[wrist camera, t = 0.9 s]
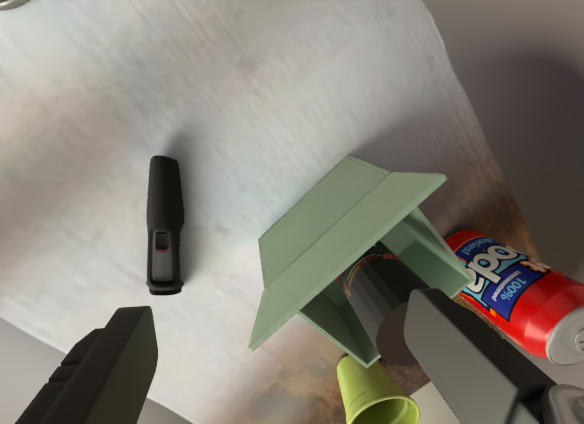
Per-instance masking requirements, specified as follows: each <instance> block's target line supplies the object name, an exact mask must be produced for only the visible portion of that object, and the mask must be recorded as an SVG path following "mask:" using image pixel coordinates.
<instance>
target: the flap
mask: <svg viewBox="0 0 584 424" xmlns="http://www.w3.org/2000/svg"><path fill="white" fill-rule="evenodd" d="M446 180H447V177H446V176H445V175H444V174H443V173H409V172H392V173H391V174H390V175H389V176H388V177H387V178H386V179H385V180H383V181H382V182H381V183H380V184H379V185H378V186H377V187H376V188H375V189H374V190H373V191H371V192H370V193H369V194H368V195H367V196H366V197H365V198H364V199H363V200H362V201H361V202H359V203H358V204H357V205H356V206H355V207H354V208H353V209H352V210H351V211H350V212H349V213H347V214H346V215H345V216H344V217H343V218H342V219H341V220H340V221H339V222H338V223H337V224H335V225H334V226H333V227H332V228H331V229H330V230H329V231H328V232H327V233H326V234H325V235H323V236H322V237H321V238H320V239H319V240H318V241H317V242H316V243H315V244H314V245H313V246H311V247H310V248H309V249H308V250H307V251H306V252H305V253H304V254H303V255H302V256H301V257H299V258H298V259H297V260H296V261H295V262H294V263H293V264H292V265H291V266H290V267H288V268H287V269H286V270H285V271H284V272H283V273H282V274H281V275H280V276H279V277H278V278H276V279H275V280H274V281H273V282H272V283H271V284H270V285H269V286H268V287H267V288H266V289H264V290H263V294H262V297H261V301H260V305H259V309H258V312H257V316H256V320H255V323H254V327H253V331H252V335H251V338H250V342H249V346H248V348H249V349H250V350H252V351H254V350H255V349H257V348H258V347H259V346H260V345H261V344H262V343H263V342H264V341H266V340H267V339H268V338H269V337H270V336H271V335H272V334H273V333H275V332H276V331H277V330H278V329H279V328H280V327H281V326H282V325H284V324H285V323H286V322H287V321H288V320H289V319H290V318H292V317H293V316H294V315H295V314H296V313H297V312H298V311H299V310H301V309H302V308H303V307H304V306H305V305H306V304H307V303H308V302H310V301H311V300H312V299H313V298H314V297H315V296H316V295H317V294H319V293H320V292H321V291H322V290H323V289H324V288H325V287H327V286H328V285H329V284H330V283H331V282H332V281H333V280H334V279H336V278H337V277H338V276H339V275H340V274H341V273H342V272H343V271H345V270H346V269H347V268H348V267H349V266H350V265H351V264H352V263H354V262H355V261H356V260H357V259H358V258H359V257H360V256H361V255H363V254H364V253H365V252H366V251H367V250H368V249H369V248H371V247H372V246H373V245H374V244H375V243H376V242H377V241H378V240H380V239H381V238H382V237H383V236H384V235H385V234H386V233H387V232H389V231H390V230H391V229H392V228H393V227H394V226H395V225H396V224H398V223H399V222H400V221H401V220H402V219H403V218H404V217H406V216H407V215H408V214H409V213H410V212H411V211H412V210H413V209H415V208H416V207H417V206H418V205H419V204H420V203H421V202H422V201H424V200H425V199H426V198H427V197H428V196H429V195H430V194H431V193H433V192H434V191H435V190H436V189H437V188H438V187H439V186H440V185H442V184H443V183H444V182H445V181H446Z"/></svg>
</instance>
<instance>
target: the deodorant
mask: <svg viewBox="0 0 584 424" xmlns="http://www.w3.org/2000/svg"><path fill="white" fill-rule="evenodd" d="M336 279H337V281H338V283H339V284H340V286H341V288H342V290H343V291H344V293H345V295H346V297H347V298H348V300H349V302H350V304H351V305H352V307H353V309H354V311H355V313H356V314H357V316H358V318H359V320H360V321H361V323H362V325H363V327H364V328H365V330H366V332H367V334H368V336H369V337H370V339H371V341H372V343H373V344H374V346H375V348H376V350H377V351H378V353H379V354H380V356H381V357H382V358H383V359H384V360H385V361H387V362H389V363H391V364H394V365H399V366H408V365H413V364H418V361H417V360H416V358H415V357H414V356H413V354H412V353H411V351H410V350H409V348H408V346H407V344H406V342H405V338H404V323H405V318H406V313H407V307H408V302H409V297H410V293H411V292H412V290H414V289H426V288H430V287H429V286H428V285H427V284H426V283H425V282H424V281H423V280H422V279H421V278H420V277H419V276H417V275H416V274H415V273H414V272H413V271H412V270H411V269H410V268H409V267H408V266H407V265H406V264H405V263H403V262H402V261H401V260H400V259H399V258H398V257H397V256H396V255H395V254H394V253H393V252H392V251H391V250H390V249H388V248H387V247H386V246H385V245H384V244H383V243H382V242H381V241H380V240H378V241H377V242H376V243H375V244H374V245H373V246H372V247H371V248H369V249H368V250H367V251H366V252H365V253H364V254H363V255H361V256H360V257H359V258H358V259H357V260H356V261H355V262H354V263H352V264H351V265H350V266H349V267H348V268H347V269H346V270H345V271H343V272H342V273H341V274H340V275H339V276H338V277H337V278H336Z"/></svg>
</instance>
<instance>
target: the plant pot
mask: <svg viewBox="0 0 584 424" xmlns="http://www.w3.org/2000/svg"><path fill="white" fill-rule="evenodd" d="M337 375H338V379H339V384H340V388H341V393H342V397H343V402H344V406H345V411H346V423H347V424H418V422H419V419H420V409H419V407H418V405H417V403H416V402H415V401H414V400H413V399H412V398H411V397H409V396H407V395H406V394H405V393H404V392H403V391H402V390H401V389H400V388H399V387H398V386H397V385H396V383H395V382H394V381H393V379H392V378H391V377H390V375H389V374H388V373H387V371H386V370H385V369H384V367H383V366H382V365H381V363H380V362H379V361H378V360H377V361H375V362H374V363H373V364H372V365H371V366H369V367H368V368H366V367H364V366H363V365H362V364H361V363H359V362H358V361H357V360H355V359H354V358H353V357H352V356H350V355H348V356H346V357H343V358H342V359H341V360H340V362H339V364H338V366H337Z"/></svg>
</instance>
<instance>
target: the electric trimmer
mask: <svg viewBox="0 0 584 424" xmlns="http://www.w3.org/2000/svg"><path fill="white" fill-rule="evenodd" d="M183 224H184V207H183V198H182V188H181V179H180V170H179V165H178V162H177V161H176V160H174V159H171V158H169V157H165V156H153V157H152V159H151V162H150V171H149V186H148V200H147V226H148V257H147V282H146V284H147V285H148V287H149V292H150V294H152V295H174V294H177V293H180V292H181V288H182V286H183V285H184V283H183V281H182V280H181V279H180V260H179V247H180V234H181V230H182V227H183Z"/></svg>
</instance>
